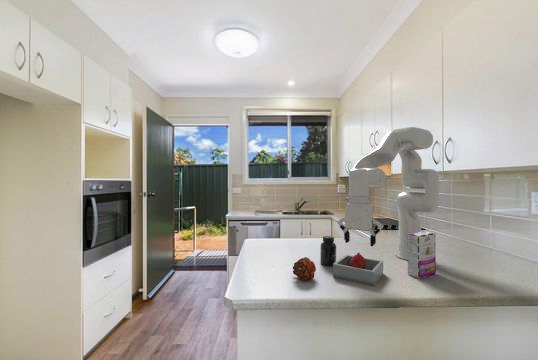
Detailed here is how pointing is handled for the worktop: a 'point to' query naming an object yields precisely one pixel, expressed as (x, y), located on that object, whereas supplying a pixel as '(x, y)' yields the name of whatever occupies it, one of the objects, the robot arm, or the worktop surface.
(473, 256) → the worktop surface
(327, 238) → the supplement bottle
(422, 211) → the robot arm
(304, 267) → the dragon fruit
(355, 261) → the pomegranate
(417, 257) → the candy bar box
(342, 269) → the bin
